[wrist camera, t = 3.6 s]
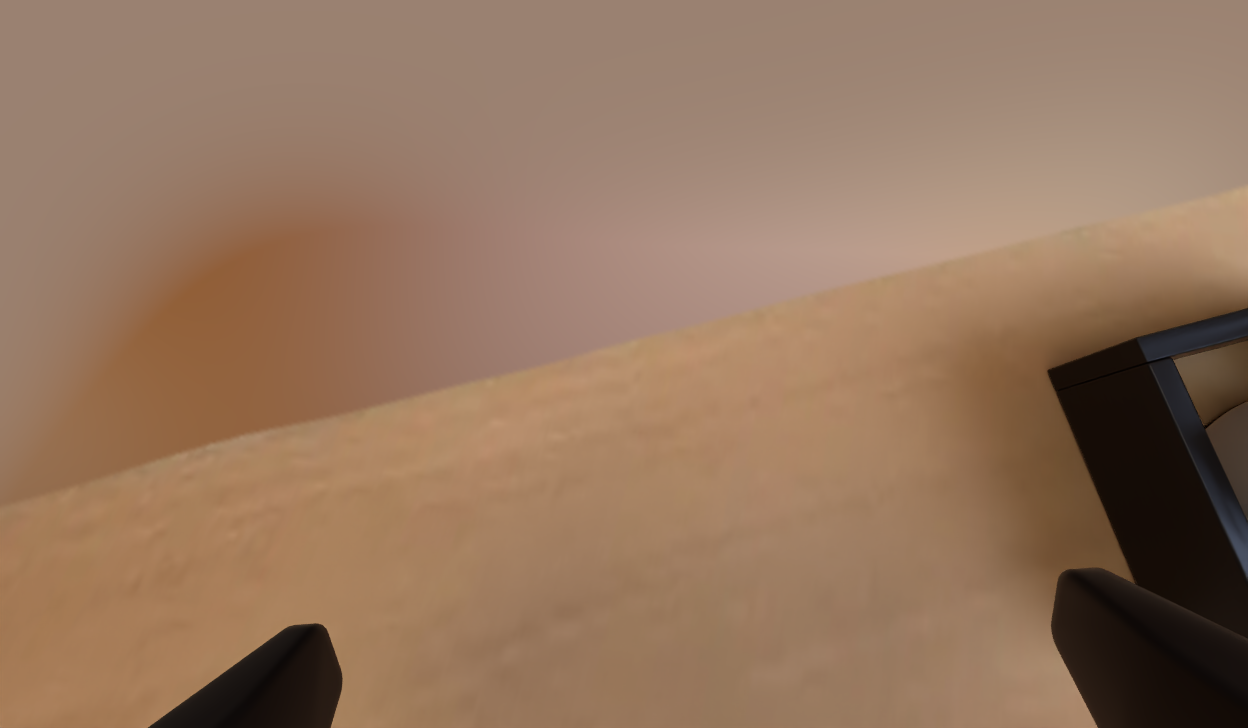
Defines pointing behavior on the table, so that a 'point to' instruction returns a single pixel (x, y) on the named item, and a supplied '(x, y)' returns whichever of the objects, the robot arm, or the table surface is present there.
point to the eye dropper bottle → (1233, 449)
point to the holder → (1163, 467)
